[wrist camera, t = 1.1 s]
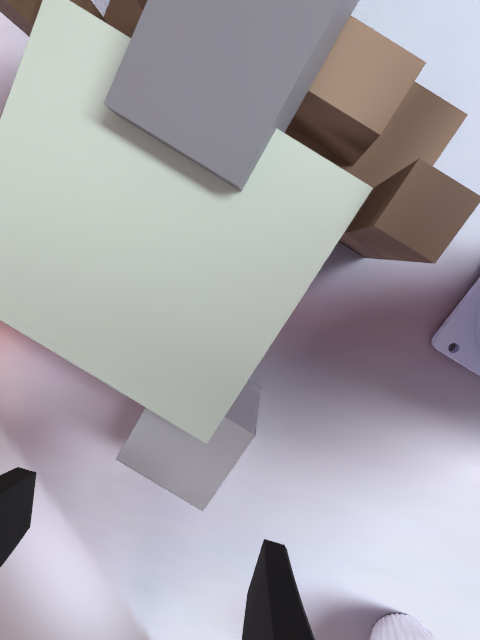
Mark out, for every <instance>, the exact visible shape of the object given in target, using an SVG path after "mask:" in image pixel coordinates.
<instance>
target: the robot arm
mask: <svg viewBox="0 0 480 640" xmlns="http://www.w3.org/2000/svg"><path fill="white" fill-rule="evenodd" d="M452 343H455V345H456V346H455V349H453V350H452V351H449V350H448V347H449V345H450V344H452ZM432 345H433V347H434V348H435V349H436V350H438V351H440V352H441V353H443V354H444V355H446V356H448V357H449V358H451V359H453V360H454V361H456V362H458V363H459V364H461V365H462V366H464V367H466V368H467V369H469V370H471V371H472V372H474V373H476V374H477V375H479V376H480V277H479V278H478V280H477V281H476V282H475V283H474V285H473V286H472V287H471V289H470V290H469V291H468V292H467V294H466V295H465V296H464V298H463V299H462V300H461V301H460V303H459V304H458V305H457V306H456V308H455V309H454V310H453V312H452V313H451V314H450V315H449V317H448V318H447V319H446V321H445V322H444V323H443V324H442V326H441V327H440V328H439V330H438V331H437V332H436V333H435V335H434V336H433V338H432ZM35 479H36V472H33V471H29V470H26V469H23V468H19V467H17V468H15V469H13V470H11V471H8V472H6V473H4V474H2V475H0V567H1V566H2V565H3V563H4V562H5V561H6V559H7V558H8V557H9V555H10V554H11V553H12V551H13V550H14V549H15V547H16V546H17V545H18V543H19V542H20V540H21V539H22V538H23V536H24V535H25V533H26V532H27V530H28V529H29V528H30V523H31V514H32V506H33V497H34V488H35ZM242 640H315V639H314V636H313V633H312V630H311V627H310V625H309V622H308V619H307V616H306V613H305V610H304V607H303V604H302V601H301V598H300V595H299V592H298V588H297V585H296V582H295V578H294V575H293V571H292V568H291V564H290V560H289V556H288V552H287V549H286V547H285V545H282V544H279V543H276V542H272V541H269V540H265V539H264V541H263V544H262V548H261V551H260V554H259V557H258V561H257V564H256V567H255V570H254V574H253V577H252V580H251V583H250V587H249V590H248V594H247V602H246V610H245V618H244V626H243V634H242Z"/></svg>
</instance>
